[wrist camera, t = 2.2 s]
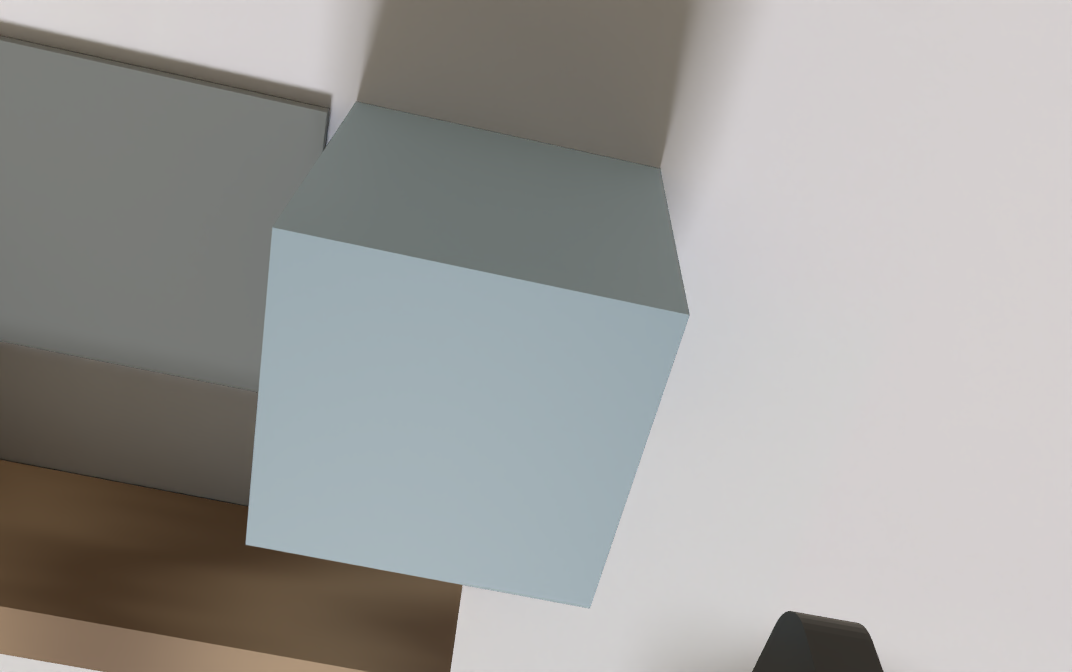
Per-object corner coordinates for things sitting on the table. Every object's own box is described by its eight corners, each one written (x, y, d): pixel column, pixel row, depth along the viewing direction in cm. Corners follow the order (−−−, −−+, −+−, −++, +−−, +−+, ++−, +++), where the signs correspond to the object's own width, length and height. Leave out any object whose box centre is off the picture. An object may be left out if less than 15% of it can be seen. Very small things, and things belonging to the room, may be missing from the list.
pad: (329, 109, 16) (327, 112, 15) (297, 393, 18) (294, 399, 18) (-29, 29, 15) (-36, 32, 15) (-6, 333, 18) (-11, 338, 18)
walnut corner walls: (528, 297, 17) (518, 411, 14) (457, 589, 21) (437, 730, 18) (-189, 147, 16) (-365, 233, 13) (-134, 479, 20) (-262, 607, 17)
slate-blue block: (660, 166, 16) (690, 315, 12) (587, 412, 18) (589, 608, 14) (357, 100, 16) (272, 227, 11) (325, 359, 18) (245, 545, 14)
